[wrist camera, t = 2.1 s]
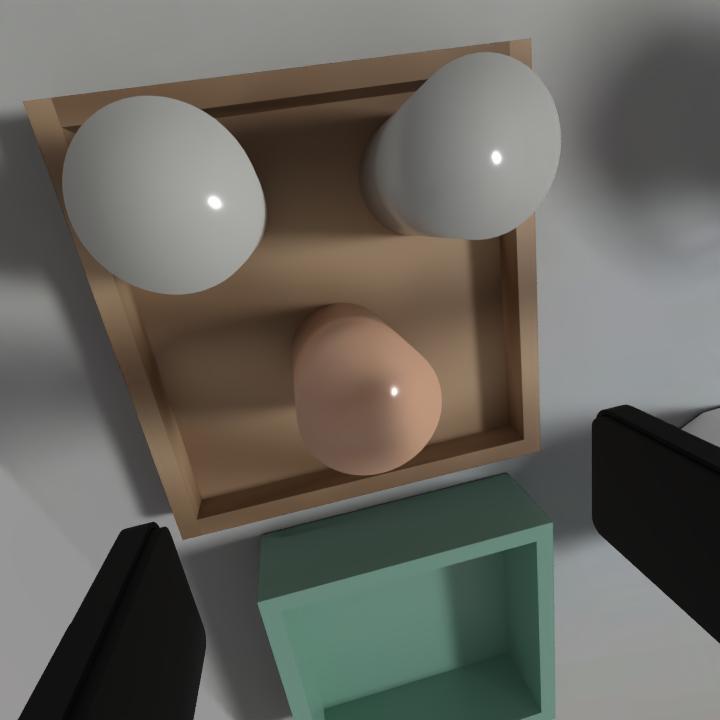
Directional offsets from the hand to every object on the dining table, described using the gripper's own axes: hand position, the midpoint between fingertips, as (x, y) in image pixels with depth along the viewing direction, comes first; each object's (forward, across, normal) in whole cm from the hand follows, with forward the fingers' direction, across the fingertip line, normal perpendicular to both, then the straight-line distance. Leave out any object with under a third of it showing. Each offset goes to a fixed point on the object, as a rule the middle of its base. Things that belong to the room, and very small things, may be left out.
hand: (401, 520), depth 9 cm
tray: (+10, 0, -3) cm, 11 cm away
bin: (+11, -1, +14) cm, 18 cm away
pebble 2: (+10, -4, -8) cm, 13 cm away
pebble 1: (+10, +4, -8) cm, 13 cm away
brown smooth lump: (+10, 0, -1) cm, 10 cm away
